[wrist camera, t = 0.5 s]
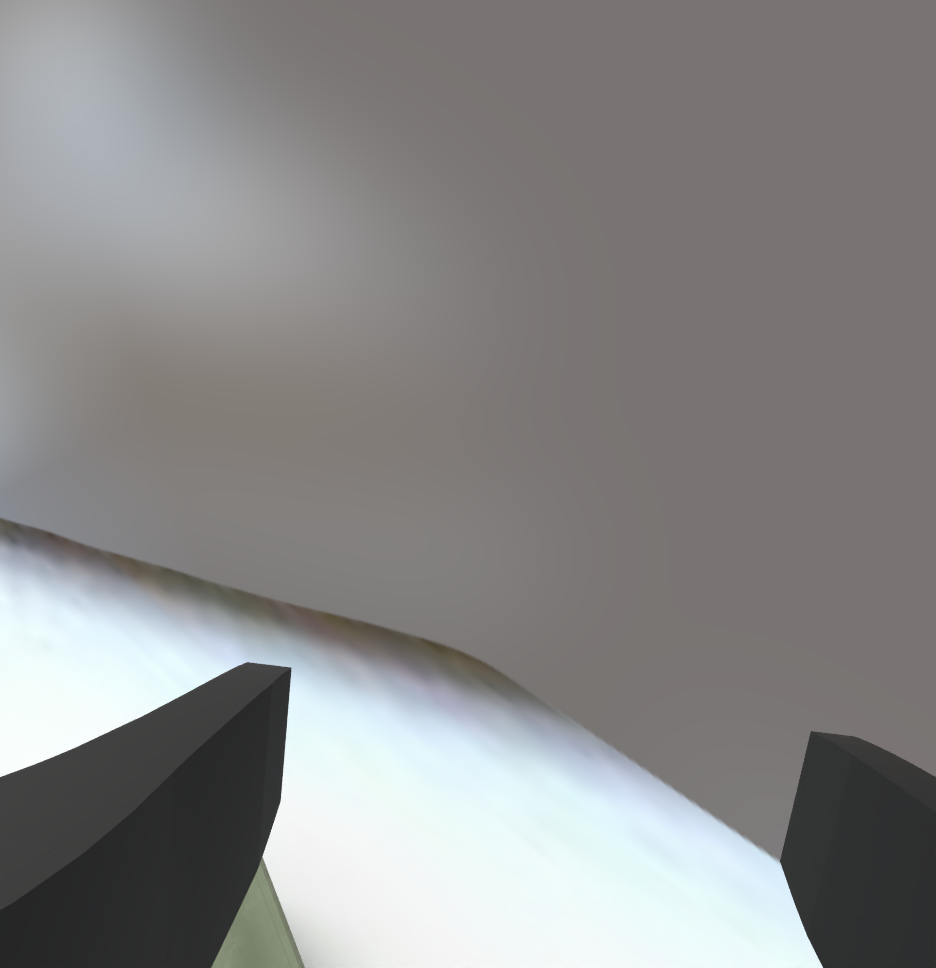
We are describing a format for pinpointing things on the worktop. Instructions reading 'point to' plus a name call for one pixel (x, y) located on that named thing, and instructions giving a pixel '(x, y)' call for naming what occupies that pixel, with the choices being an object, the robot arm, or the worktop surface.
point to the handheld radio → (259, 931)
